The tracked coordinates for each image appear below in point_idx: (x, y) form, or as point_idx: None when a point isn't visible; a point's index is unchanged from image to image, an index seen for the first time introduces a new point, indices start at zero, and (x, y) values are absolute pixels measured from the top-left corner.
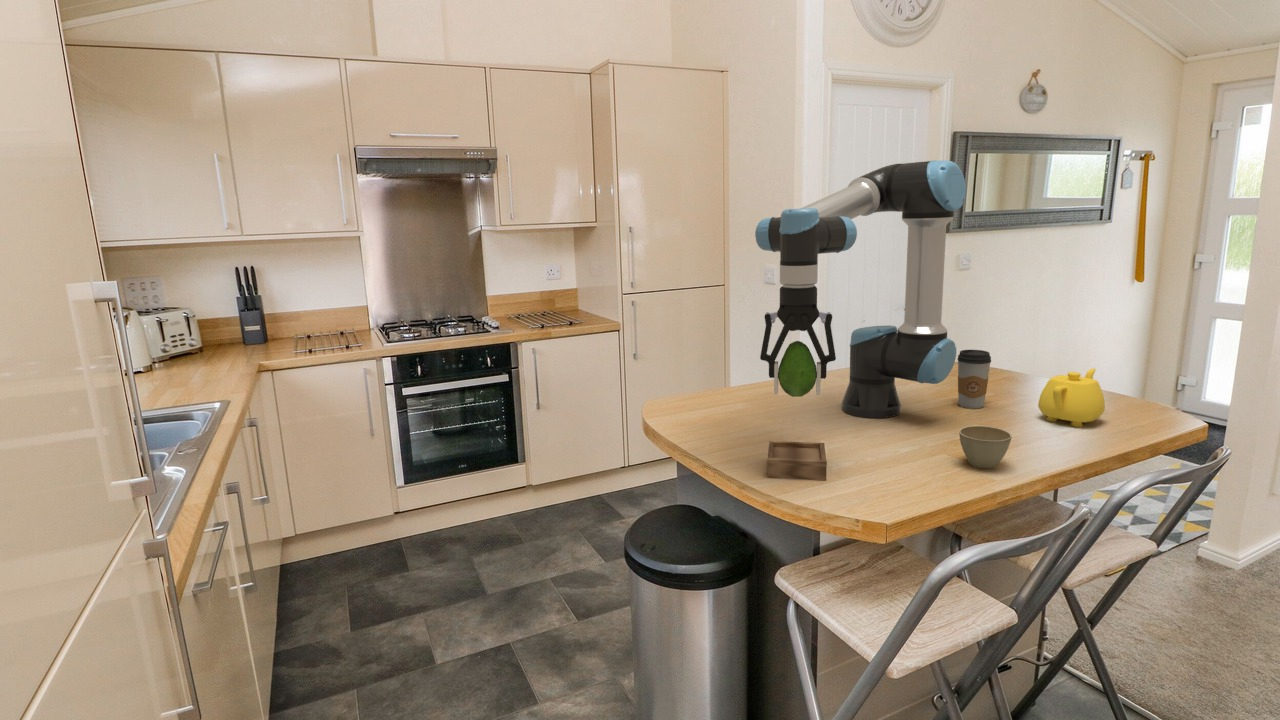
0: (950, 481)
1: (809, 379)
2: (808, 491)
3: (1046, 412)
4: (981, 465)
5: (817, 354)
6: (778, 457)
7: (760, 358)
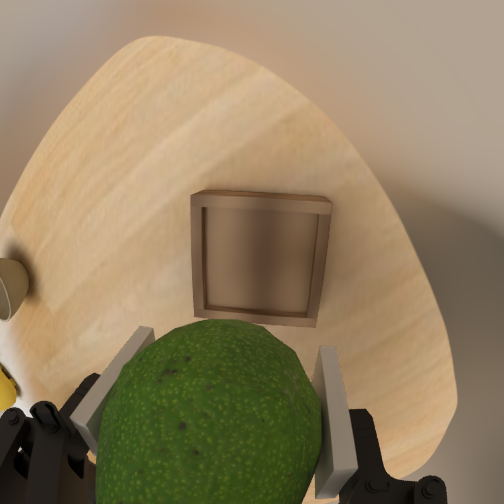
0: (40, 212)
1: (144, 350)
2: (242, 128)
3: (9, 384)
4: (17, 261)
5: (58, 468)
6: (301, 246)
7: (442, 481)
